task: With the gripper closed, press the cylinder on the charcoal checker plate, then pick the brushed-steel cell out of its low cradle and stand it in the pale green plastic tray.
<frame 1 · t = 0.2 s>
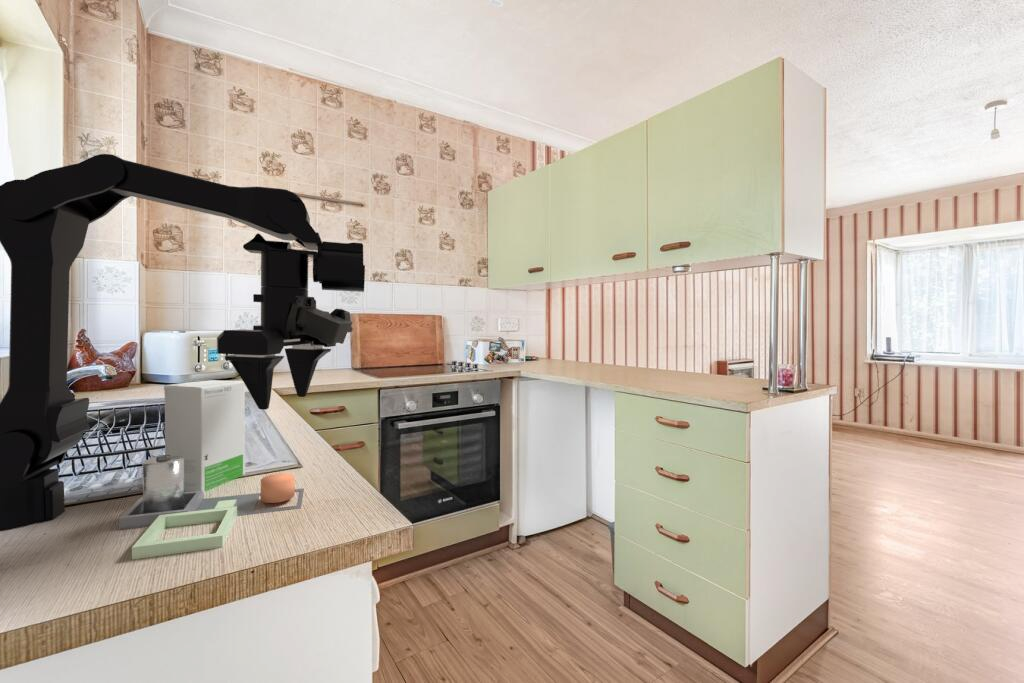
hand: (284, 402, 62), 14 cm above the worktop, fingers open, 9 cm apart
checker plate: (216, 514, 58), on the worktop
cell: (164, 512, 56), point 1 cm above the worktop, touching checker plate
cylinder: (277, 487, 60), point 3 cm above the worktop, slide at 0.0 cm
pale green square tray: (189, 544, 50), on the worktop
skincare box: (206, 488, 67), on the worktop
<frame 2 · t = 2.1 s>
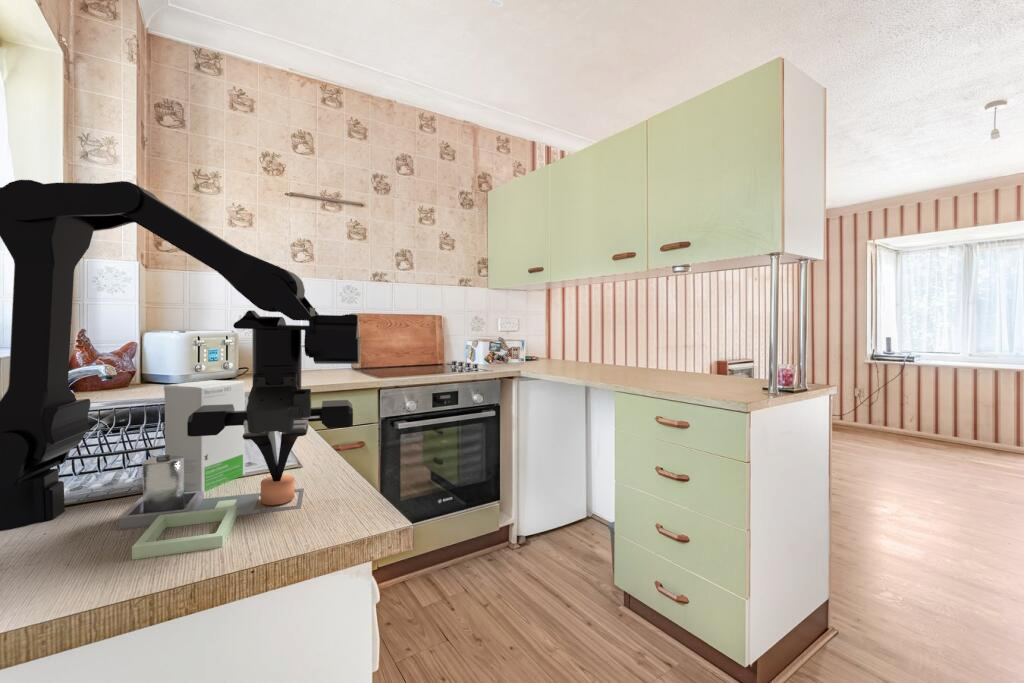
hand: (277, 480, 60), 4 cm above the worktop, fingers closed, pressing on cylinder
cylinder: (277, 489, 60), point 2 cm above the worktop, slide at -0.3 cm, touching gripper
everything else where it was.
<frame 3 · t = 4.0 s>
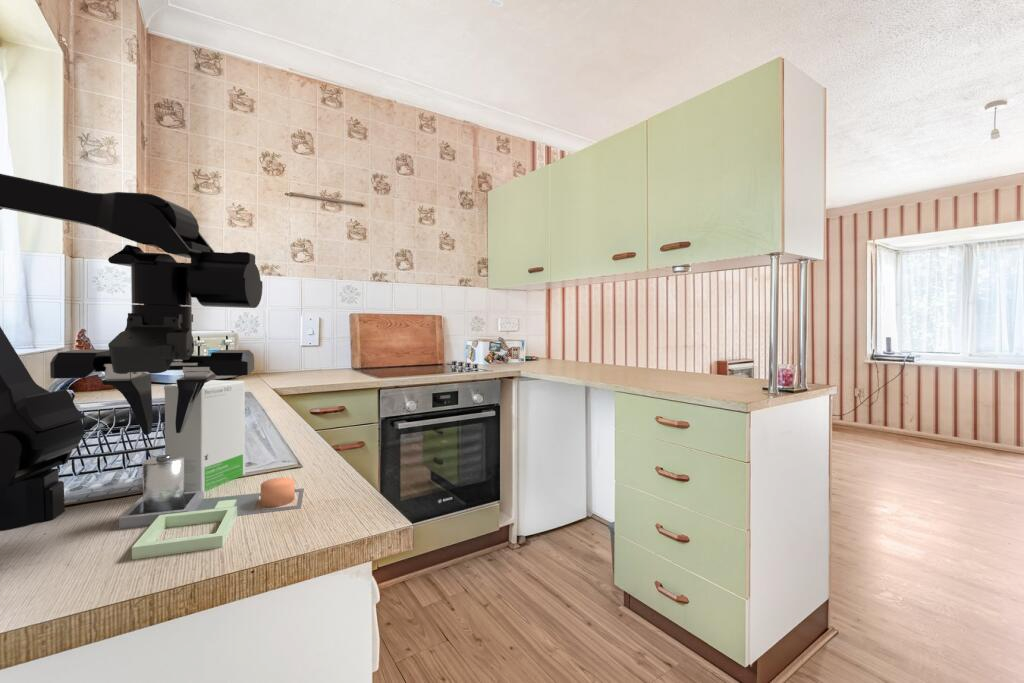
hand: (163, 433, 55), 11 cm above the worktop, fingers open, 3 cm apart
cylinder: (277, 492, 60), point 2 cm above the worktop, slide at -0.6 cm
everything else where it was.
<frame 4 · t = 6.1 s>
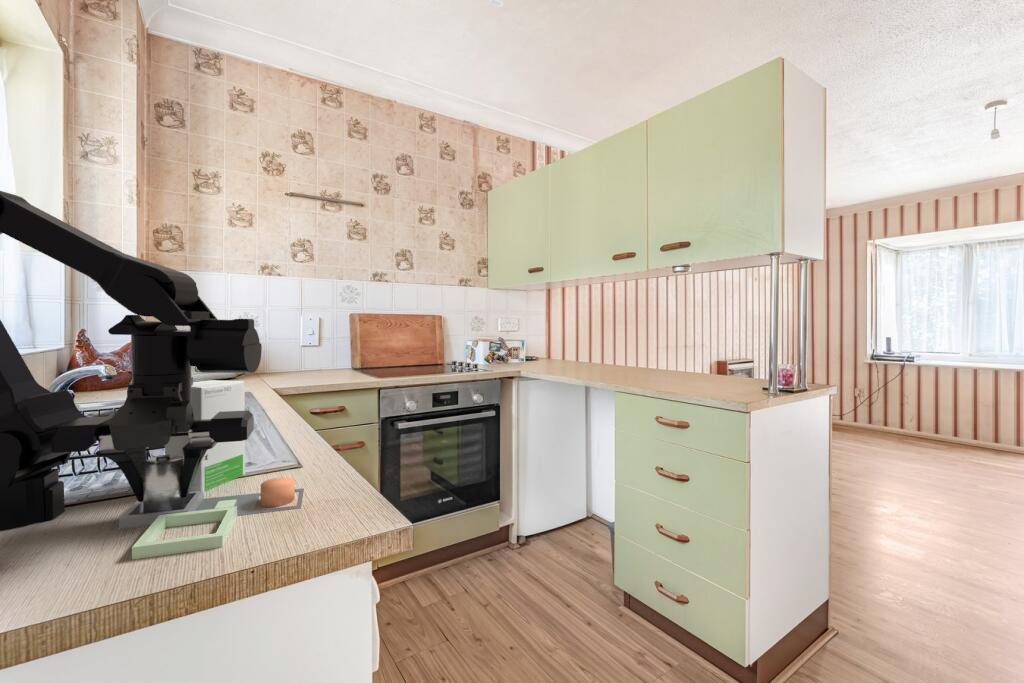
hand: (164, 498, 55), 3 cm above the worktop, fingers closed on cell, 4 cm apart
cell: (164, 512, 56), point 1 cm above the worktop, touching checker plate, gripper
everything else where it was.
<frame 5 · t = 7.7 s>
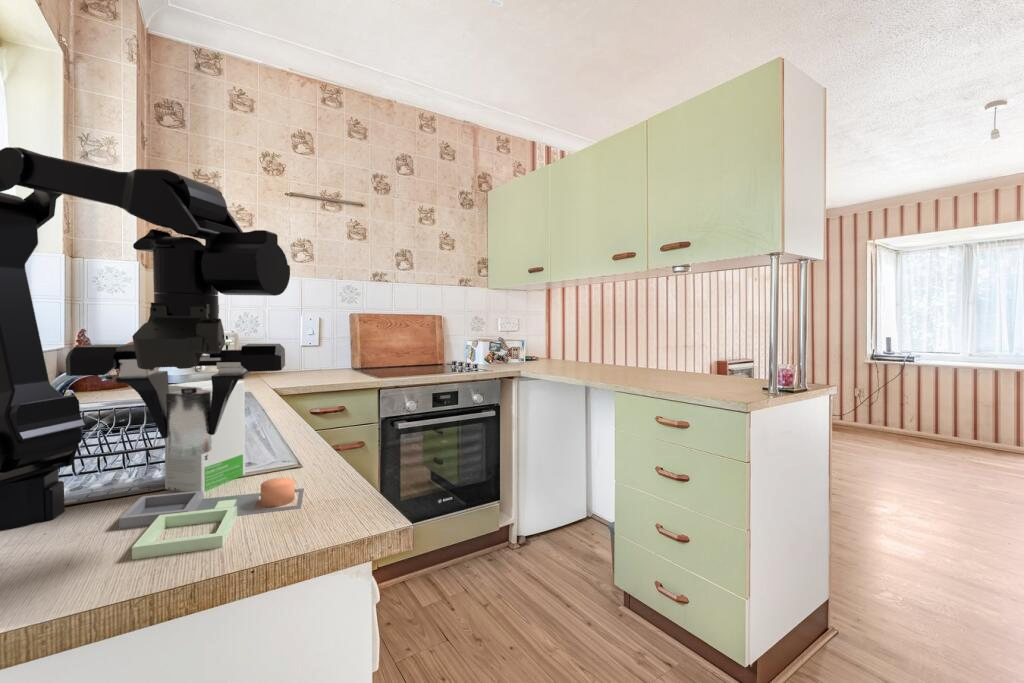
hand: (189, 435, 50), 12 cm above the worktop, fingers closed on cell, 4 cm apart
cell: (190, 451, 50), point 10 cm above the worktop, touching gripper
everything else where it was.
when the fingers open (3 cm above the worktop, at t = 9.6 s): cell drops 1 cm, resting on pale green square tray.
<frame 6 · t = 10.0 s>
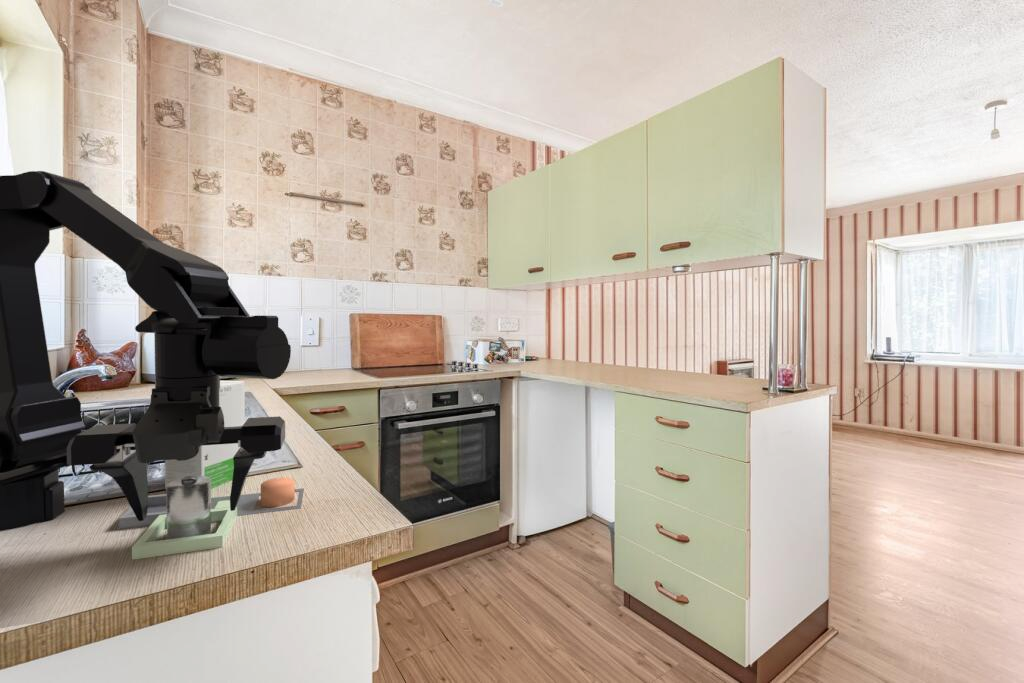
hand: (189, 514, 50), 3 cm above the worktop, fingers open, 8 cm apart
cell: (189, 540, 50), resting on pale green square tray
everything else where it was.
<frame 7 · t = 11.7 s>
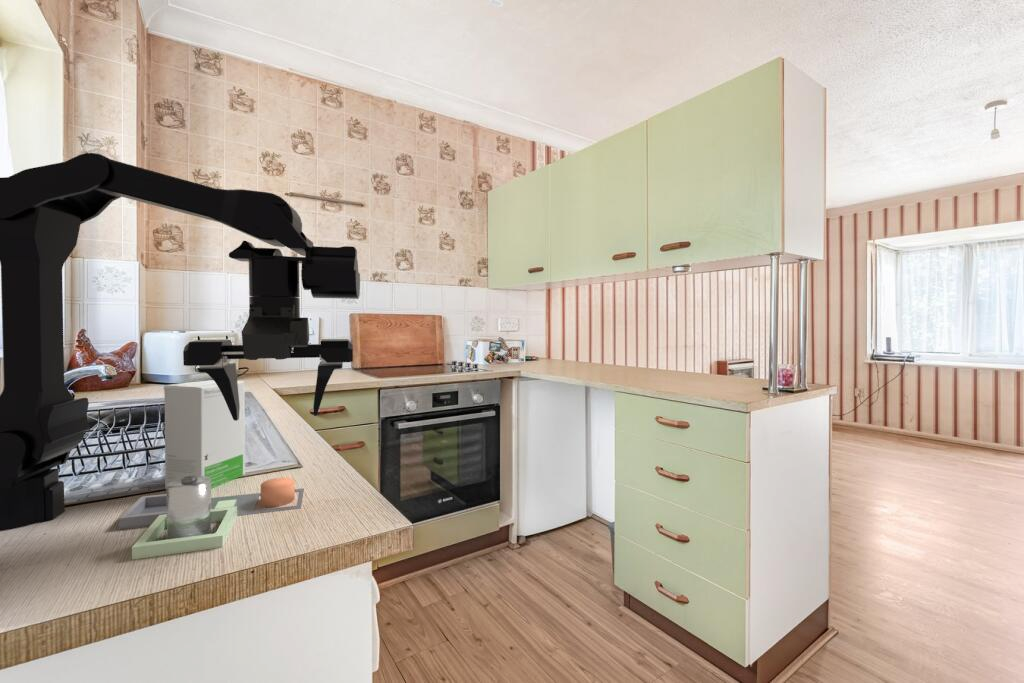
hand: (277, 417, 59), 12 cm above the worktop, fingers open, 9 cm apart
nothing on the worktop moved.
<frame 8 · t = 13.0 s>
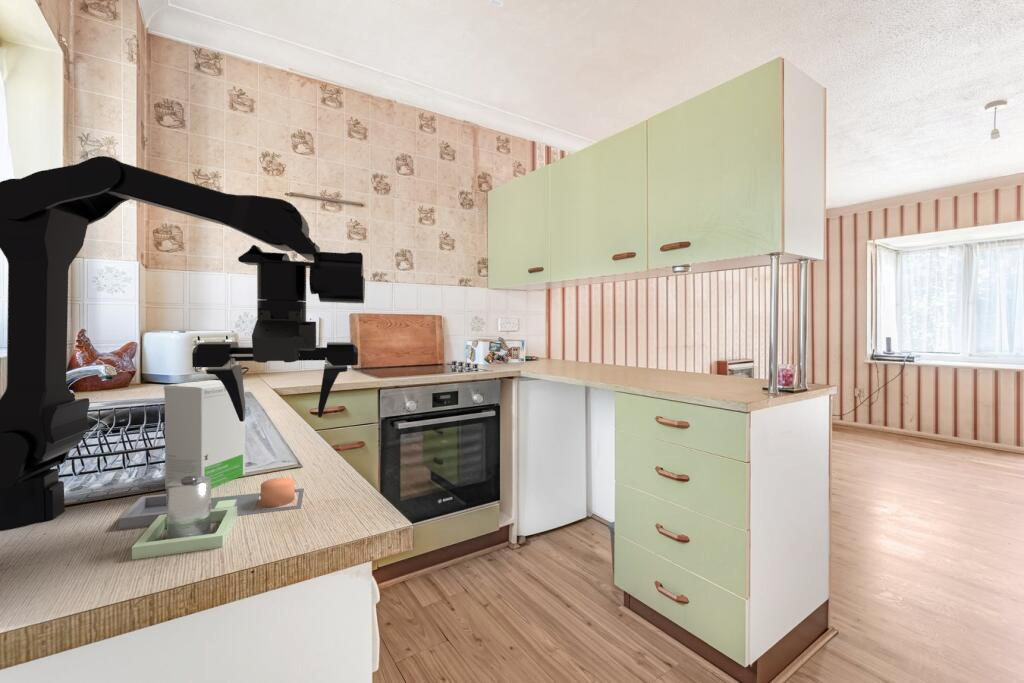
hand: (282, 418, 60), 12 cm above the worktop, fingers open, 9 cm apart
nothing on the worktop moved.
at the end: cell 0.0 cm off-centre on the pale green square tray, point 0.4 cm above the pale green square tray's base; cell tilted 0°; the gripper is holding nothing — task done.
